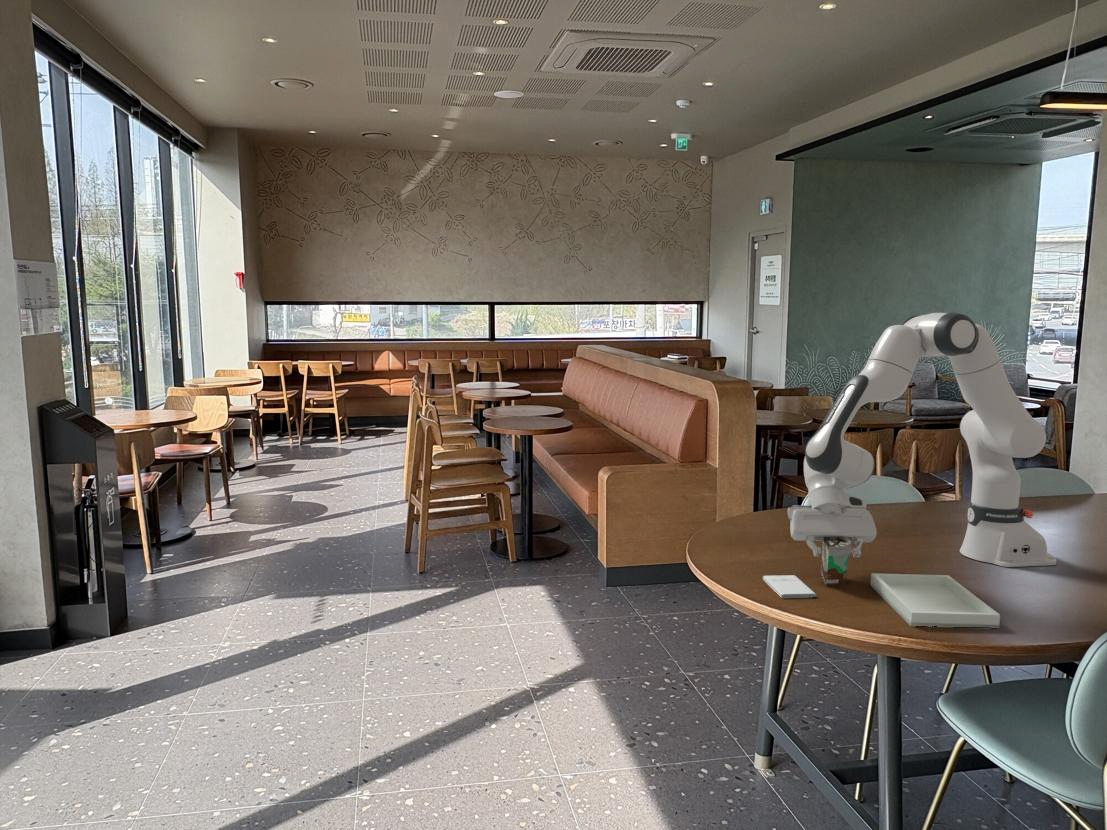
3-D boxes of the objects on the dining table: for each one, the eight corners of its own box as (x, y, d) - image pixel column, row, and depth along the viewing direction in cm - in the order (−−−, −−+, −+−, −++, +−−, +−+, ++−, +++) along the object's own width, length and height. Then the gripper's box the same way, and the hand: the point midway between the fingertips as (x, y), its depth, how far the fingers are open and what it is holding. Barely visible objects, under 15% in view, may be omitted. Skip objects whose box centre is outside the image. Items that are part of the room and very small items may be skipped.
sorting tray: (947, 587, 189) (948, 575, 189) (998, 628, 166) (1000, 614, 165) (870, 585, 190) (871, 573, 190) (910, 626, 166) (911, 612, 166)
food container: (854, 590, 187) (857, 549, 185) (826, 588, 188) (829, 547, 186) (846, 573, 199) (848, 534, 197) (820, 571, 200) (822, 532, 198)
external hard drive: (780, 601, 181) (762, 581, 194) (816, 600, 182) (795, 580, 194) (781, 594, 181) (762, 575, 193) (816, 593, 182) (795, 574, 194)
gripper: (789, 498, 199) (796, 548, 190) (872, 500, 198) (883, 550, 190) (783, 511, 204) (791, 560, 195) (864, 513, 203) (875, 562, 195)
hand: (837, 555), depth 193 cm, fingers open, 8 cm apart
